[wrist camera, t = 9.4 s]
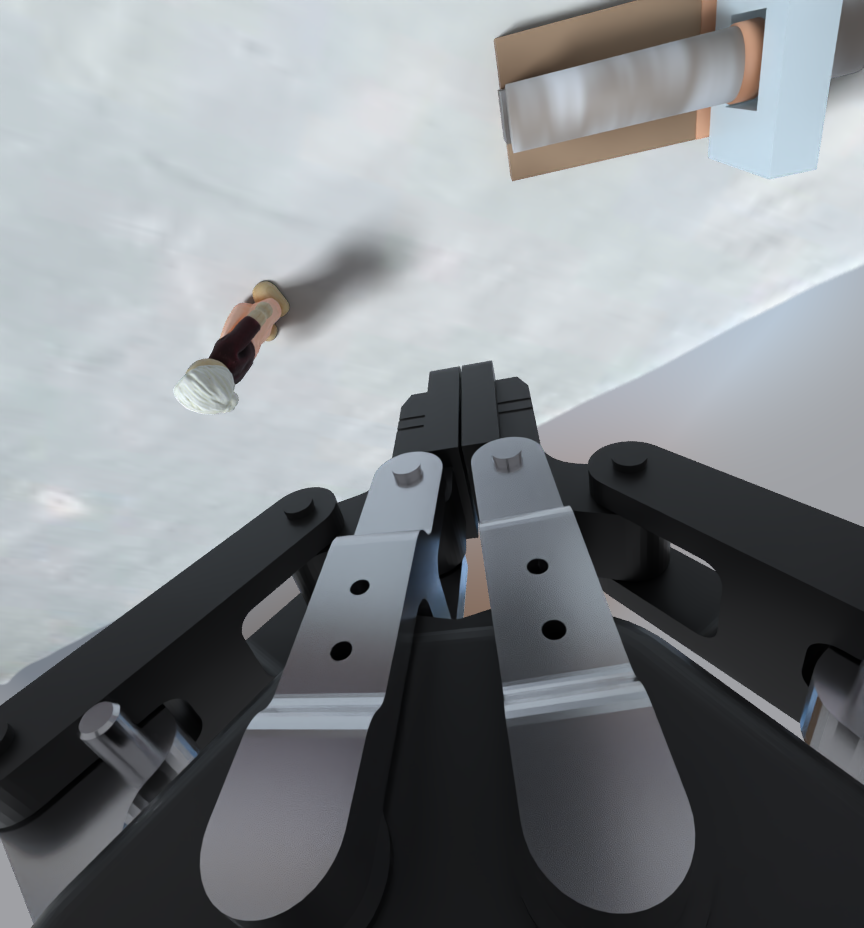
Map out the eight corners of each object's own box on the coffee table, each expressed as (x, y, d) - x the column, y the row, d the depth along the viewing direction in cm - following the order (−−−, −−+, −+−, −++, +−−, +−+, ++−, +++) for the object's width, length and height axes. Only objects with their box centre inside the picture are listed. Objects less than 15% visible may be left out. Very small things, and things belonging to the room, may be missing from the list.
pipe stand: (490, 40, 31) (497, 32, 25) (810, -46, 28) (907, -79, 22) (507, 178, 35) (517, 201, 29) (790, 113, 32) (868, 123, 26)
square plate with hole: (719, -49, 27) (799, -87, 21) (764, -62, 27) (859, -103, 20) (708, 157, 32) (769, 179, 26) (745, 149, 32) (816, 169, 25)
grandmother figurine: (247, 257, 38) (168, 327, 28) (301, 281, 39) (243, 356, 29) (225, 352, 43) (149, 442, 32) (274, 371, 43) (215, 466, 33)
